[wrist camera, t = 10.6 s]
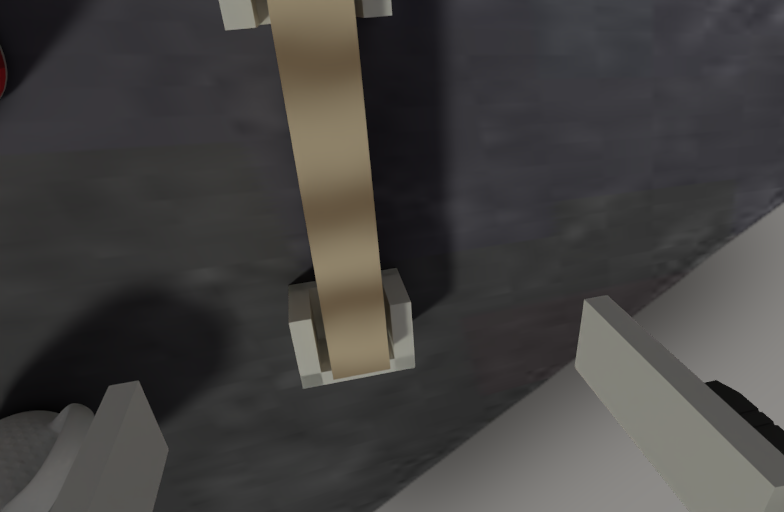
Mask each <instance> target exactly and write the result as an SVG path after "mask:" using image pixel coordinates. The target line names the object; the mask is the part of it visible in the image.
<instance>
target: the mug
mask: <svg viewBox="0 0 784 512" xmlns="http://www.w3.org/2000/svg"><path fill="white" fill-rule="evenodd" d="M93 419H94V414H93V412H92V411H91V410H90V409H89V408H88V407H86V406H84V405H82V404H77V403H72V404H69V405H68V406H66V407H65V408H64V409H63V410H62V411H61V412H60V413H56V412H51V411H38V410H37V411H26V412H21V413H17V414H14V415H11V416H8V417H6V418H3V419H1V420H0V512H51V510H52V508H53V505H54V503H55V501H56V499H57V497H58V495H59V492H60V490H61V488H62V486H63V484H64V482H65V479H66V477H67V475H68V473H69V471H70V469H71V466H72V464H73V462H74V460H75V458H76V456H77V454H78V451H79V449H80V447H81V445H82V443H83V441H84V438H85V436H86V434H87V432H88V430H89V428H90V425H91V423H92V421H93Z"/></svg>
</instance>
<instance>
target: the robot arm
mask: <svg viewBox="0 0 784 512" xmlns="http://www.w3.org/2000/svg"><path fill="white" fill-rule="evenodd" d="M575 368H576V369H577V371H578V372H579V374H580V375H581V376H582V377H583V379H584V380H585V381H586V382H587V384H588V385H589V386H590V387H591V388H592V390H593V391H594V392H595V394H596V395H597V396H598V397H599V399H600V400H601V401H602V402H603V404H604V405H605V406H606V407H607V409H608V410H609V411H610V412H611V414H612V415H613V416H614V418H615V419H616V420H617V421H618V422H619V424H620V425H621V426H622V428H623V429H624V430H625V431H626V432H627V434H628V435H629V436H630V438H631V439H632V440H633V441H634V443H635V444H636V445H637V446H638V448H639V449H640V450H641V451H642V453H643V454H644V455H645V456H646V458H647V459H648V460H649V462H650V463H651V464H652V465H653V467H654V468H655V469H656V470H657V472H658V473H659V474H660V475H661V477H662V478H663V479H664V480H665V482H666V483H667V484H668V485H669V486H670V488H671V489H672V490H673V492H674V493H675V494H676V495H677V497H678V498H679V499H680V500H681V502H682V503H683V504H684V505H685V507H686V508H687V509H688V510H689V512H784V430H783V429H781V428H780V427H779V426H778V425H774V423H773V421H772V420H771V419H770V418H769V417H767V416H766V415H765V414H764V413H762V412H759V411H758V408H757V407H756V406H754V405H753V404H752V403H751V402H750V401H749V400H747V399H746V398H745V397H744V396H743V395H742V394H740V393H739V392H737V391H735V390H733V389H732V388H730V387H728V386H726V385H724V384H722V383H720V382H719V381H716V380H715V381H711V382H706V383H704V382H702V381H701V380H700V379H699V378H698V377H697V376H696V375H695V374H694V373H692V372H691V371H690V370H689V369H688V368H687V367H686V366H685V365H684V364H683V363H681V362H680V361H679V360H678V359H677V358H676V357H675V356H674V355H673V354H671V353H670V352H669V351H668V350H667V349H666V348H665V347H664V346H663V345H662V344H660V343H659V342H658V341H657V340H656V339H655V338H654V337H653V336H651V334H649V333H648V332H647V331H646V330H645V329H644V328H643V327H642V326H641V325H640V324H638V323H637V322H636V321H635V320H634V319H633V318H632V317H631V316H630V315H628V314H627V313H626V312H625V311H624V310H623V309H622V308H621V307H620V306H619V305H617V304H616V303H615V302H614V301H613V300H612V299H611V298H610V297H609V296H607V295H606V296H600V297H595V298H589V299H584V306H583V313H582V320H581V327H580V334H579V341H578V348H577V355H576V362H575ZM168 450H169V449H168V447H167V444H166V442H165V440H164V438H163V435H162V433H161V431H160V428H159V426H158V424H157V421H156V419H155V417H154V415H153V412H152V410H151V408H150V405H149V403H148V401H147V398H146V396H145V394H144V391H143V389H142V387H141V385H140V382H139V380H138V381H132V382H127V383H121V384H116V385H110V386H109V387H108V389H107V391H106V393H105V395H104V397H103V400H102V402H101V404H100V406H99V408H98V410H97V412H96V415H95V417H94V419H93V421H92V423H91V425H90V428H89V430H88V432H87V434H86V436H85V438H84V441H83V443H82V445H81V447H80V449H79V451H78V454H77V456H76V458H75V460H74V462H73V464H72V466H71V469H70V471H69V473H68V475H67V477H66V479H65V482H64V484H63V486H62V488H61V490H60V492H59V495H58V497H57V499H56V501H55V503H54V505H53V508H52V510H51V512H152V511H153V507H154V504H155V500H156V496H157V492H158V488H159V484H160V481H161V477H162V473H163V469H164V465H165V462H166V458H167V454H168Z"/></svg>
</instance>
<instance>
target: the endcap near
mask: <svg viewBox="0 0 784 512" xmlns="http://www.w3.org/2000/svg"><path fill="white" fill-rule="evenodd" d="M219 4H220V8H221V13H222V18H223V22H224V27H225V30H234V29H245V28H256V27H257V26H259V25H263V24H271V21H270V15H269V10H268V4H267V0H219ZM354 5H355V15H356V17H361V18H369V17H380V16H392V5H391V0H354Z"/></svg>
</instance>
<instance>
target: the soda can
mask: <svg viewBox="0 0 784 512" xmlns="http://www.w3.org/2000/svg"><path fill="white" fill-rule="evenodd" d="M6 84H7V65H6V60H5V56H4V53H3V51H2V48H1V45H0V99H1V97H2V95H3V93H4V91H5V88H6Z"/></svg>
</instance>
